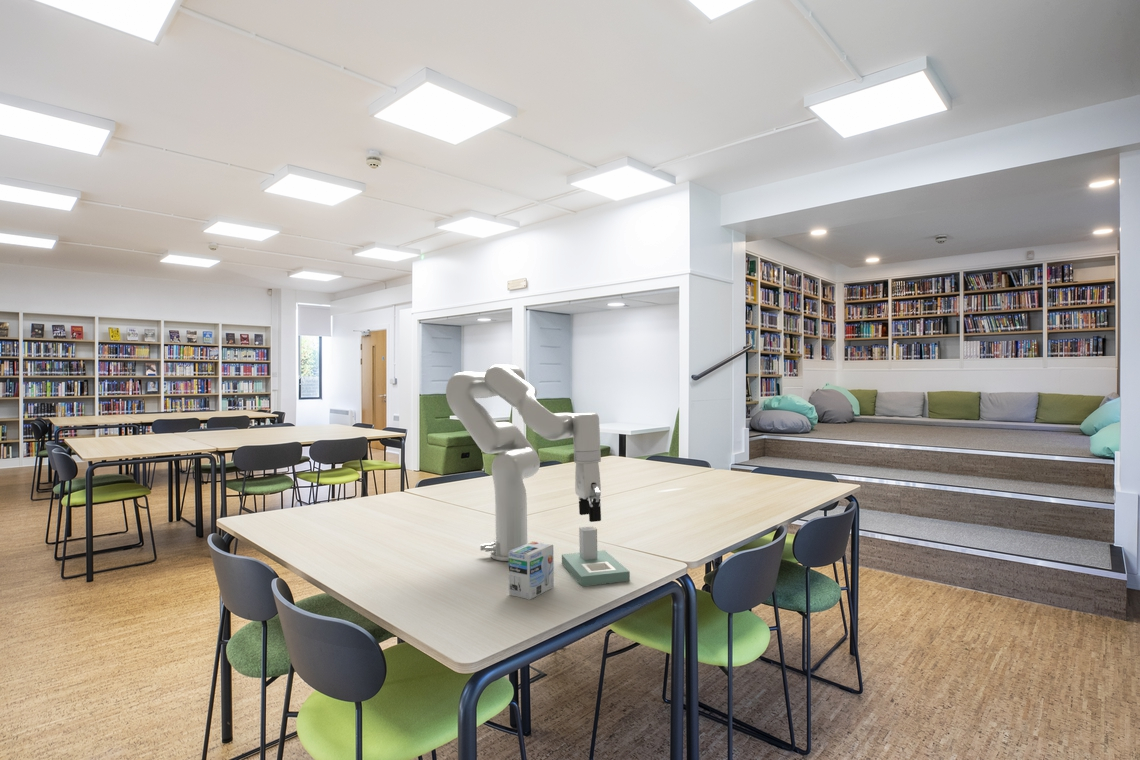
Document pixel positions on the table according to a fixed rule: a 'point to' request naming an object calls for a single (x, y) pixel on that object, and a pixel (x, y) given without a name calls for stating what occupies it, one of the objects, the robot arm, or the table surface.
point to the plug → (588, 542)
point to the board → (595, 569)
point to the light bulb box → (531, 570)
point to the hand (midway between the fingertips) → (589, 517)
